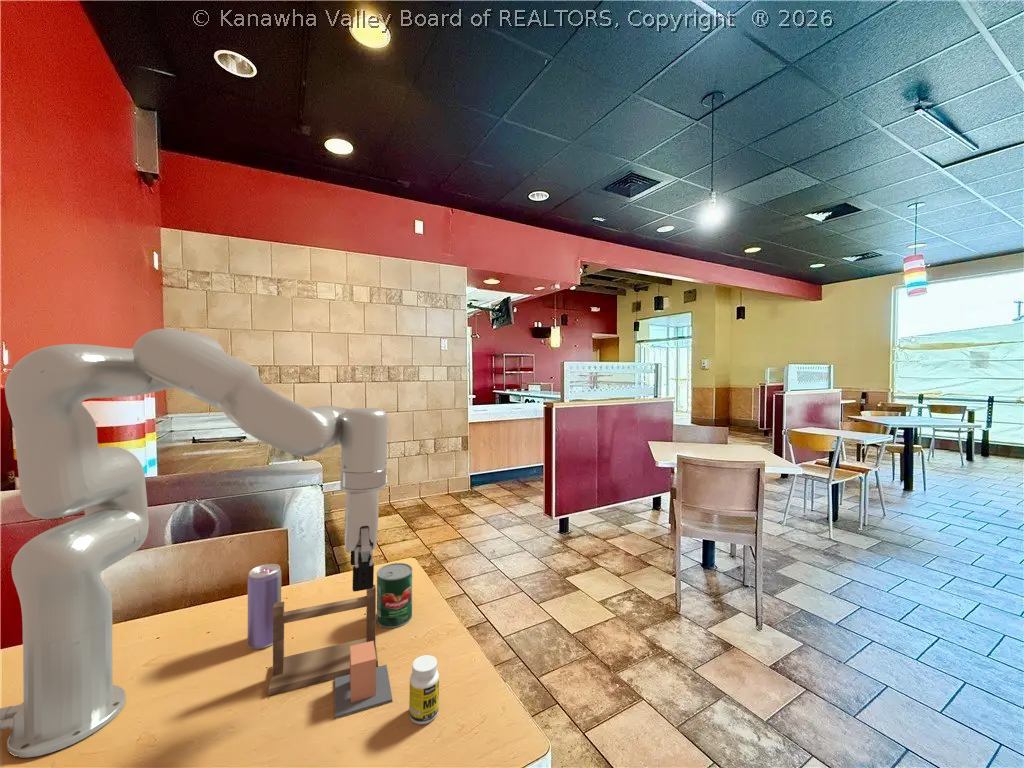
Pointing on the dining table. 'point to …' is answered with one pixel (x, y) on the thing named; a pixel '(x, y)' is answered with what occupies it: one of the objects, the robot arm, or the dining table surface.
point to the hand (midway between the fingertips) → (361, 575)
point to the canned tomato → (394, 595)
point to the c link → (362, 671)
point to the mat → (347, 707)
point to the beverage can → (262, 604)
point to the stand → (320, 661)
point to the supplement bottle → (424, 690)
